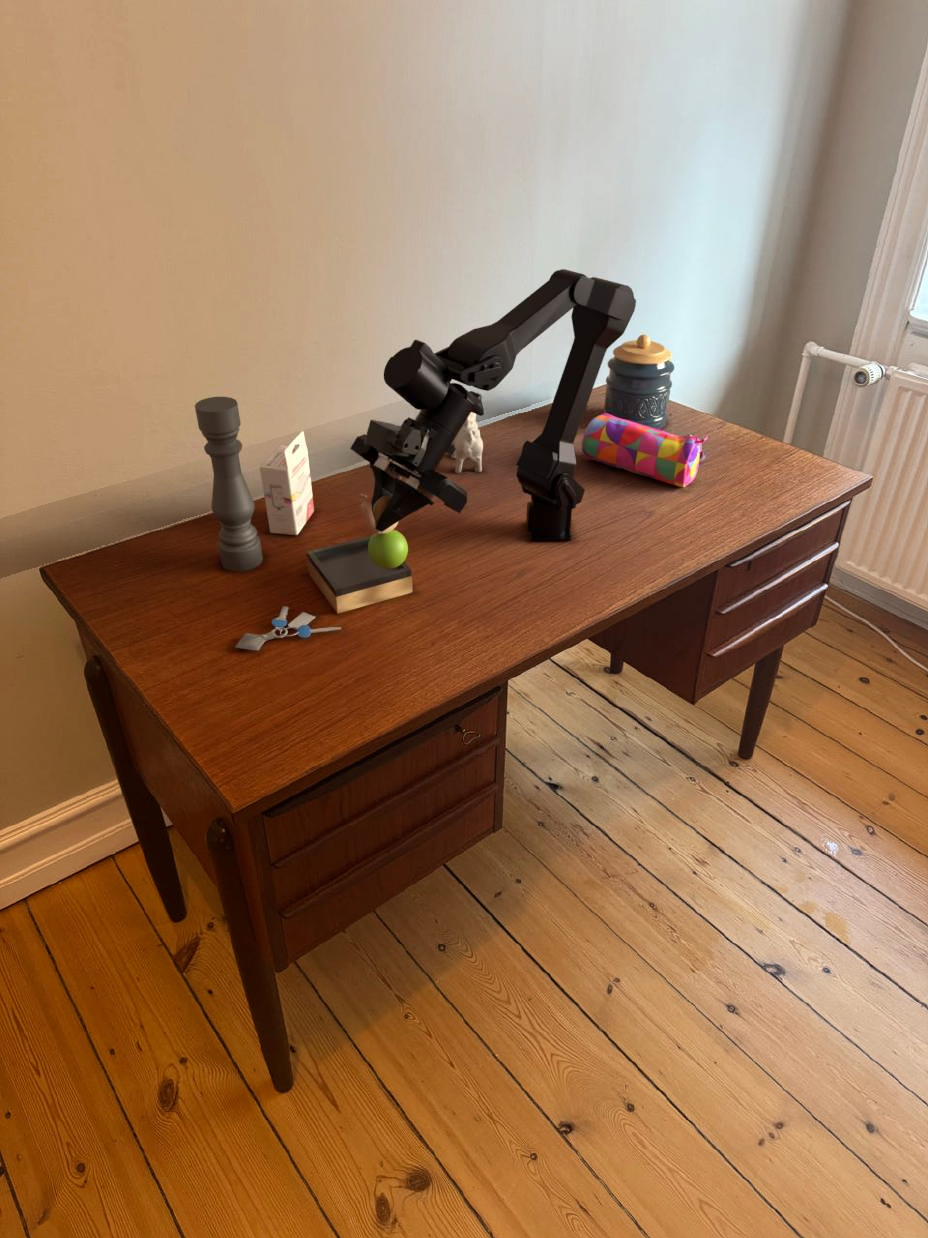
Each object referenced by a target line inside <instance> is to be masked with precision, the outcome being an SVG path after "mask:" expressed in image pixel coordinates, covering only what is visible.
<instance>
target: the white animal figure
mask: <svg viewBox="0 0 928 1238" xmlns="http://www.w3.org/2000/svg"><path fill="white" fill-rule="evenodd" d="M477 416H478V415H477V414H475V413H473V412H471V413H470V415H469V416H468V418H467V419H466V421H465V423H464V424H463V426H462V427H461V429H460V431H459V432H458V434H457V436H456V437H455V439H454V440H453V442H452V444H451V445H452V446H454V447H455V448H456V450H455V451H454V453H453V455H451V454H450V455H451V456H450V457H451V458H452V459H455V470H454V472H455V473H456V474H461V473H462V471H463V463H464V461H465V460H469V461H472V462H473V463H474V464H475V468H474V470H473V471H474V472H477V473H481V472H483V467H482V465H483V464H482V460H483V458H482V457H483V452H484V451H483V450H484V441H483V439H482V437H481V432H480V428H479V427H478V426H479V425H478V423H477V421H476V419H477Z"/></svg>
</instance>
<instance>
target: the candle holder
mask: <svg viewBox="0 0 928 1238" xmlns="http://www.w3.org/2000/svg"><path fill="white" fill-rule="evenodd" d="M194 409H195V415H196V420H197V427H198V430H199V431H200V432H201V434H202V436H203V437H204V438H205V440H206V443H205V445H204V447H203V449H204V452H205V454H206V455H208V456H209V457H210V461H211V467H212V473H213V478H212V479H213V483H212V492H211V493H212V495H211V506H210V507H211V511H212V514H213V515H214V517H215V519H216V520H217V521H218V522H219V524H220V525H221V529H220V530H219V532H218V535H217V537H218V539H219V541H218V543H217V547H218V552H219V557H220V563H221V565H222V568H224V569H225V570H227V571H232V572H246V571H250V570H253V569H255V568H257V567H259V566H260V565H261V564H262V562H263V559H264V558H263V552H262V543H261V538H260V537H259V535H258V530H257V529H256V527H255V526H254V525H253V524H252V523H251V521H252V516H253V514H254V511H255V501H254V499H253V496H252V494H251V491H250V489H249V487H248V485H247V482H246V480H245V477H244V475H243V473H242V468H241V461H240V452H241V451H242V448H243V444H242V443H243V442H242V441H241V440H239V439H237V438H238V434H239V432H240V427H241V417H240V410H239V404H238V401H237V399H235V398H233V397H229V396H212V397H207V398H203V399H201V400H199V401H197V402H196V403H195V404H194Z"/></svg>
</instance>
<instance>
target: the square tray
mask: <svg viewBox="0 0 928 1238" xmlns="http://www.w3.org/2000/svg"><path fill="white" fill-rule="evenodd" d="M373 535H374V534H372V535H368V536H365V537H360V538H355V539H352V540H348V541H345V542H341V543H336V544H331V545H327V546H325V547H321V548H315V549H313V550H309V551H306V558H307V568H308V575H309V576H310V578H311V579H312V580H313V583H314V584H315V585H316V587H318V589H319V590H320V592H321V593H322V594H323V596H324V597H325V598H326V600H327V601H328V603H329V604H330V606H331V607H332V608H333V610H334V611H335V612H336V614H342V613H346V612H350V611H353V610H356V609H359V608H363V607H366V606H370V605H373V604H377V603H381V602H383V601H388V600H391V599H395V598H398V597H401V596H405V595H408V594H412V593H413V574H412V568H411V567H410V566H409V565H408V564H407V563H406V562H405V561H404V562H403V563H402V564H400V565H399V566H397V567H395V568H392V569H384V568H381V567H379V566H377V565H375V564H374V563H373V562H372V560H371V559H370V557H369V554H368V543H369V541H370V539H371V537H372V536H373Z"/></svg>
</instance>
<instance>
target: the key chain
mask: <svg viewBox="0 0 928 1238" xmlns="http://www.w3.org/2000/svg"><path fill="white" fill-rule="evenodd" d="M288 610H290V608H289V606H286V605H285V606H281V610H280V612H279V615H278V617H275V618H273V619H271V625H272V626H273V627H274V628H273V629H272V630H271V631H270V632H267V633H263V634H255V633H247V632H246V633H244V634H243V636H242V637H241V638H240V639H239V641H238V642H237V644H236V645H235V648H236V649H242V650H248V651H253V652H259V651H260V650H261V648H262V646H263V645H264V643H265V642H267V641H269V640H273V639H283V638H285V637H292V636H296V635H297V636H298V637H299V638H301V639H307V638H309V637H310V636H311V634H316V633H325V632H332V631H333V632H334V631H340V630H342V626H330V627H329V626H328V627H320V628H311V627H310V625H309V624H310V623H311V622H312V621H313V620H315V618H316V616H314V615H312V614H309V613H307V612H304V611H302V612H301V613H300V614H299V615H298V616H297V617H295V618H294V619H293V620H291V621H290V622H289V623H288V620H287V616H288V613H289V611H288ZM286 625H287V626H288V627H286ZM285 627H286V628H285ZM288 629H294V630H296V632H295V633H292V634H289V635H288V632H289V631H288ZM276 631H279V634H280V635H277V634H276ZM283 631H284V633H283V634H282V632H283Z"/></svg>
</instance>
